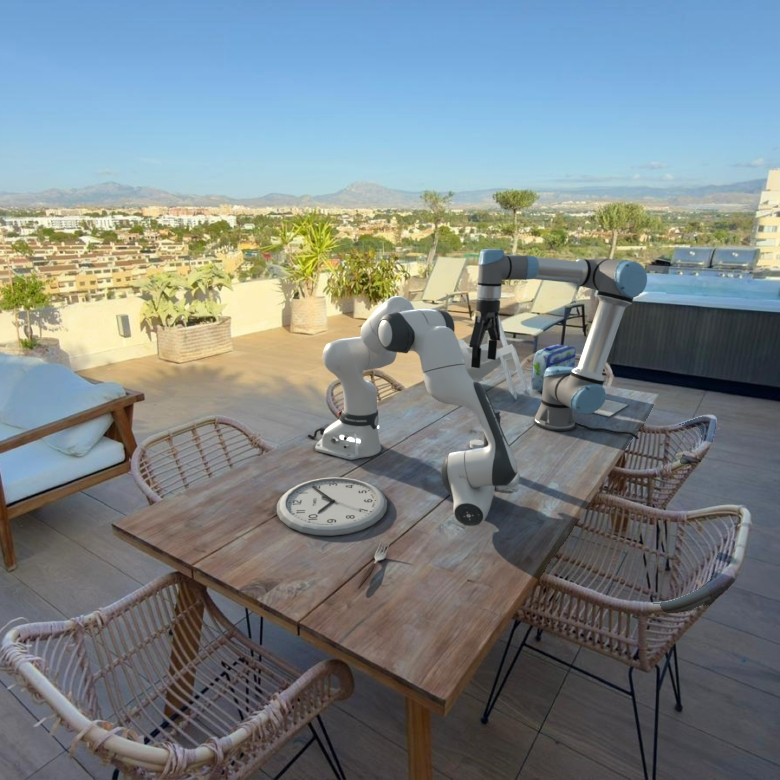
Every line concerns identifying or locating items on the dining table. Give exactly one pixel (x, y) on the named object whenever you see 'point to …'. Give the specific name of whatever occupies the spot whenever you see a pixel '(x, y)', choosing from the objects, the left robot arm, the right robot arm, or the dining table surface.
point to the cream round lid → (476, 444)
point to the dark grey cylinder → (499, 422)
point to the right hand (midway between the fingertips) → (483, 363)
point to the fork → (378, 557)
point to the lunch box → (550, 362)
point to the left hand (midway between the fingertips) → (485, 465)
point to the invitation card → (610, 408)
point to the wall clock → (331, 506)
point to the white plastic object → (494, 362)
